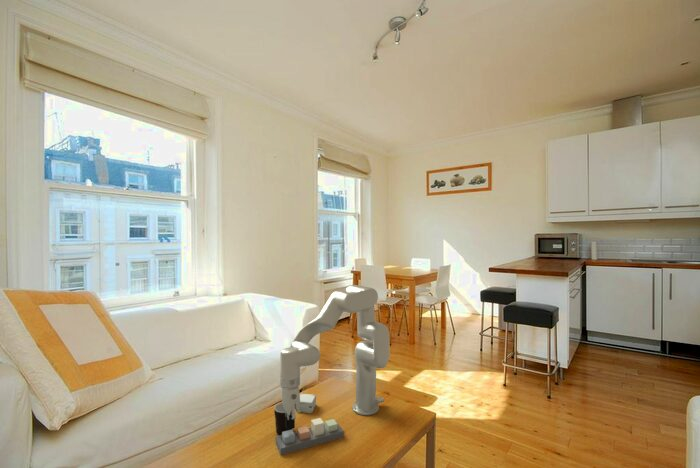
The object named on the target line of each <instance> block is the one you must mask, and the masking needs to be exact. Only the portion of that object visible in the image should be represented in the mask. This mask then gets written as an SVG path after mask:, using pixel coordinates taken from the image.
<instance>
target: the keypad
mask: <svg viewBox="0 0 700 468" xmlns="http://www.w3.org/2000/svg"><path fill="white" fill-rule="evenodd" d="M336 423H337V424H338V425H337V430H336V431H332V432H329V433H328V432H327V431H326V429H325V423H324V434H321V435H318V436H314V435H313V434H312V432H311V427H308V429H309V431H310V438H307V439H303V440H299V439H298V437H297V430H296V431H293V432H294V434H295V442H292V443H289V444H285V445H284V443H283V441H282V435H277V436H275V446H276V447H277V450H278V452H279V455H280V456H284V455H287V454H290V453H294V452H297V451H301V450H304V449H307V448H311V447H314V446H318V445H319V446H320V445H321V444H324V443H328V442H332V441H335V440H339V439H342V438H344V437H345V430H343V429H344V428H342V427H341V426H340V424H339V423H338V422H337V421H336Z"/></svg>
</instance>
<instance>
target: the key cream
mask: <svg viewBox="0 0 700 468" xmlns="http://www.w3.org/2000/svg"><path fill="white" fill-rule="evenodd" d="M310 421H311V422H310V428H311V432H312V434H313V436H318V435H321V434H324V424H325V421H323V419H322V418H321V417H318V418H313V419H311V420H310Z"/></svg>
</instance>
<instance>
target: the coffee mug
mask: <svg viewBox="0 0 700 468" xmlns="http://www.w3.org/2000/svg"><path fill="white" fill-rule="evenodd" d="M273 411H274V412H273V413H274V419H275V420H274V422H275V432H276V435H277V436H280V435H282V432H284V431H288V430H287V429H286V418H287V417H286V415H285V409H284V407H283V405H282V401H281V402H278V403H276V404H275V405H274V408H273ZM289 430H293V429H289Z"/></svg>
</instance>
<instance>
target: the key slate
mask: <svg viewBox="0 0 700 468" xmlns="http://www.w3.org/2000/svg"><path fill="white" fill-rule="evenodd" d="M294 432H295V431H294V430H293V429H292V430H288V431H284V432H282V441H283V443H284V445H285V444H289V443H292V442H295V434H294Z"/></svg>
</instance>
